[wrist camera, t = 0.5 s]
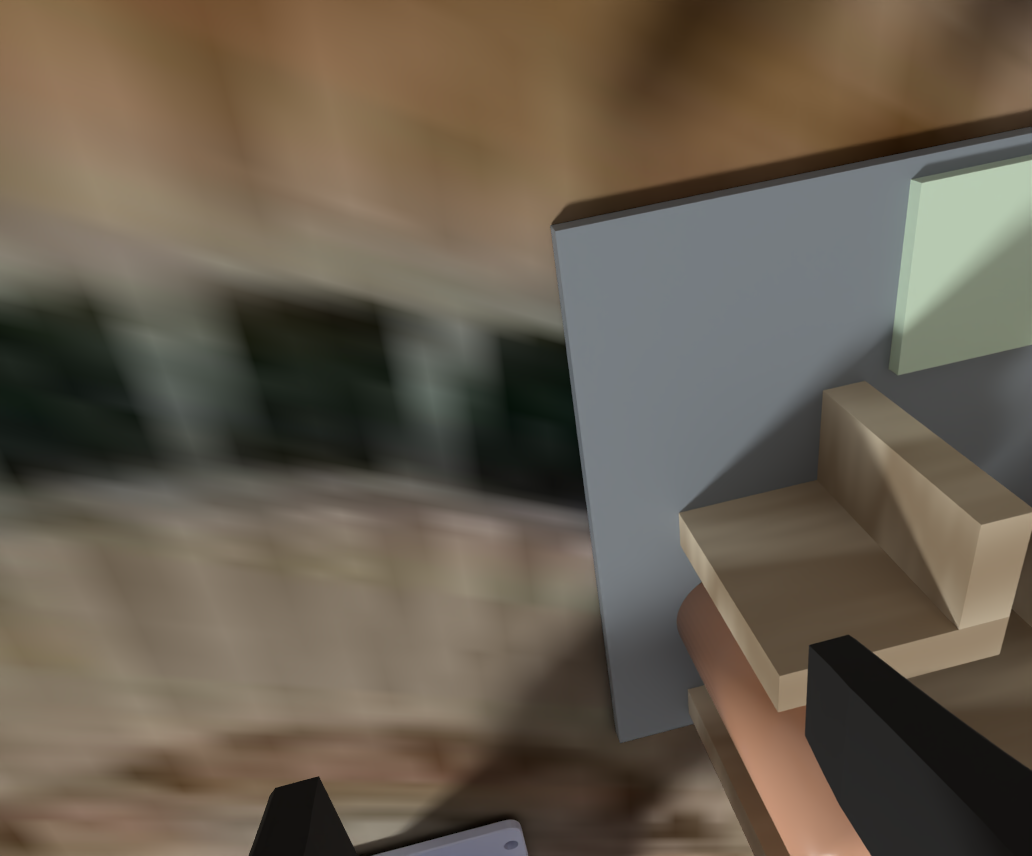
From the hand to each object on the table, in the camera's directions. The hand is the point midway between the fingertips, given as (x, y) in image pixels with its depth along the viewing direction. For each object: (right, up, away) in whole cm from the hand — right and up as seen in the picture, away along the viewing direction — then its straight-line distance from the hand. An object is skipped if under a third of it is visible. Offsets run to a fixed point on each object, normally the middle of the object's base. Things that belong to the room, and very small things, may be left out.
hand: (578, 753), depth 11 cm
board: (+9, +3, +11) cm, 15 cm away
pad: (+11, +9, +8) cm, 16 cm away
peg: (+6, -1, +13) cm, 14 cm away
